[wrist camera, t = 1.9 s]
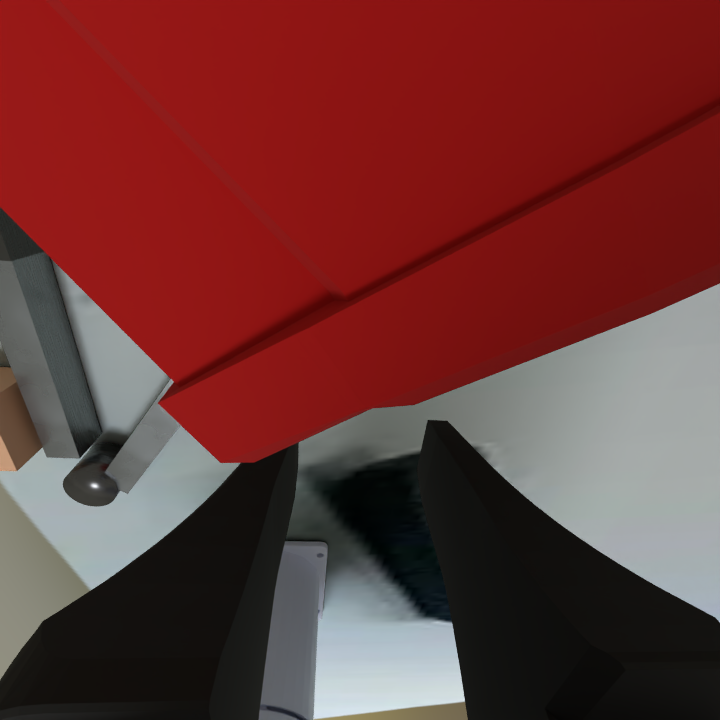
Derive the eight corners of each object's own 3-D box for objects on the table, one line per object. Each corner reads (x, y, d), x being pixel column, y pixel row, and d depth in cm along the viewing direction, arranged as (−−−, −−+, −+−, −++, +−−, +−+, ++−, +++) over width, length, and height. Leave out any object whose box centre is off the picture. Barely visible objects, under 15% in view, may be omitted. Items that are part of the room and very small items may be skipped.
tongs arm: (131, 486, 22) (111, 516, 21) (81, 463, 21) (55, 492, 19) (285, 285, 17) (278, 300, 15) (227, 242, 16) (212, 252, 14)
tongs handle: (102, 433, 21) (79, 459, 19) (70, 432, 21) (44, 458, 19) (26, 174, 15) (-19, 175, 13) (-20, 169, 15) (-73, 170, 13)
